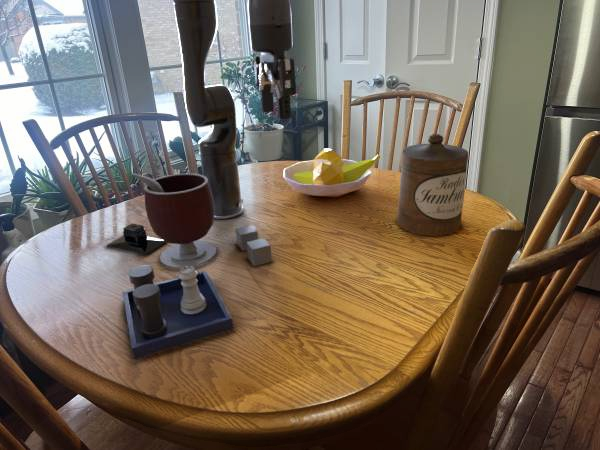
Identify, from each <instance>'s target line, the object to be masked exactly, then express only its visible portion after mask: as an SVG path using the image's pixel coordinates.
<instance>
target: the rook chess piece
mask: <svg viewBox="0 0 600 450" xmlns="http://www.w3.org/2000/svg"><path fill="white" fill-rule="evenodd" d="M197 274H198V271H197V270H196V268H195V267H194V266H190V267H188V266H185V267H180V270H179V274H178V277H179V278H180V279H181V280H182V282H181V285H182V286H183V297H182V300H181V311H182V312H183V313H185V314H187V315H196V314H199V313H201V312H202V311H203V310H204V309H205V307H206V302H205V298H204V297H203V296H202V294H201V293H200V292H199V289H198V286H197V282H198V280H197V279H196V276H197ZM178 277H177V278H178Z"/></svg>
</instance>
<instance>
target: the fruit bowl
mask: <svg viewBox="0 0 600 450" xmlns="http://www.w3.org/2000/svg"><path fill="white" fill-rule="evenodd" d="M379 159H381V156H380V155H379V154H377V155H376V156H375V157H373V158H369V159H365V160H361V161H355V160H351V159H343V158H342V156H341V155H339V154H338V153H337V152H336V151H335V150H334V149H331V148H324V149H323V150H321V151H320V152H319V153H318V154H317V155H316V156H315V157H314V159H312V160H304V161H299V162H297V163H294V164H292V165H290V166H287V167H285V168H283V172H282V173H283V174H282V176H283V177H282V178H283V179H284V180H285V182H286V183H287V184H288V185H289V187H290V188H291V189H293V190H294V191H295V192H298V193H300V194H304V195H307V196H315V197H330V198H331V197H332V198H337V197H341V196H344V195H347V194H349V193H352V192H355V191H358V190H362V188H363V186H364V185H365V183H366V182H367V181H368V179H369V178H370V177H371V175H372V174H373V171H371V169H372V168H373V167H374V166H375V165H376V162H377V161H378V160H379Z"/></svg>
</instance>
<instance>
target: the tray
mask: <svg viewBox="0 0 600 450" xmlns="http://www.w3.org/2000/svg"><path fill="white" fill-rule="evenodd" d="M197 272H198V271H197ZM196 279H197V280H198V282H197V286H198V289H199V292H200V293H201V294H202V296H203V297H204V298H205V302H206V307H205V309H204V310H203V311H202V312H201V313H199V314H196V315H187V314H185V313H183V312H182V311H181V300H182V297H183V286H182V285H181V282H182V280H181V279H180V278H179V277H176V278H171V279H167V280H162V281H159V282H154V284H155V285H157V286H158V287H159V290H160V295H161V298H160V300H159V301H160V304H161V312H162V317H163V320H165V321H166V323H167V328H168V330H167V332H166V334H165V335H163V336H162V337H158V338H155V339H152V340H150V339H145V338H144V337H143V335H142V331H141V327H142V325H143V324H142V319H141V315H139V314H138V312H137V305H136V304H135V302H134V298H133V291H134V290H135V288H131V289H127V290H124V291H122V293H121V294H122V299H123V304H124V310H125V317H126V322H127V328H128V334H129V340H130V341H129V342H130V346H131V351H132V354H133V359H134V360H136V359H141V358H142V357H146V356H150V355H152V354H156V353H159V352H162V351H165V350H169V349H171V348H175V347H179V346H182V345H184V344H188V343H191V342H194V341H198V340H200V339H204V338H207V337H211V336H214V335H217V334H220V333H224V332H227V331H231V330H234V323H233V318H232V316H231V314H230V312H229V310H228V308H227V306H226V305H225V303H224V301H223V299H222V297H221V296H220V294H219V292H218V290H217V288H216V286H215V284H214V283H213V281H212V279H211V277H210V275H209V274H208V272H207V270H202V271H199V272H198V274H197V276H196Z"/></svg>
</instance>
